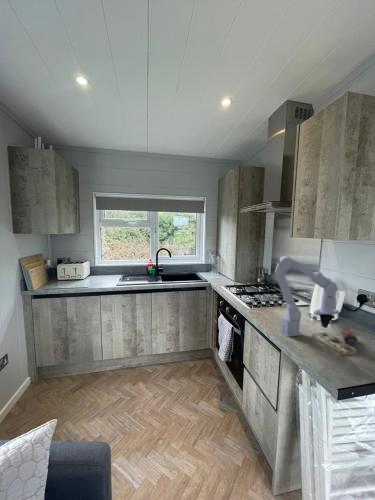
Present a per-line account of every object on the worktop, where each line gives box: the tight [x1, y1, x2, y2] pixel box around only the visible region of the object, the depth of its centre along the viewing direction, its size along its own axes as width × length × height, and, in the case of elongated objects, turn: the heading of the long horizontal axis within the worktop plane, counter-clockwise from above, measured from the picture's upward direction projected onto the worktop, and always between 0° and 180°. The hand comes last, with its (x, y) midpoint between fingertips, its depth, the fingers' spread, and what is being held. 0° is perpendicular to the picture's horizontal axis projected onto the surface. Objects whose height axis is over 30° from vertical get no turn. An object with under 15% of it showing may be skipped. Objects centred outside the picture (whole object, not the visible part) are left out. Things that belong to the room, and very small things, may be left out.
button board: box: [311, 331, 357, 357], centre depth 114 cm, size 10×17×2 cm, turn 14°
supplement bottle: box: [340, 327, 359, 347], centre depth 116 cm, size 6×6×11 cm
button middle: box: [331, 336, 339, 343], centre depth 114 cm, size 3×3×2 cm
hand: (324, 326), depth 119 cm, fingers closed
